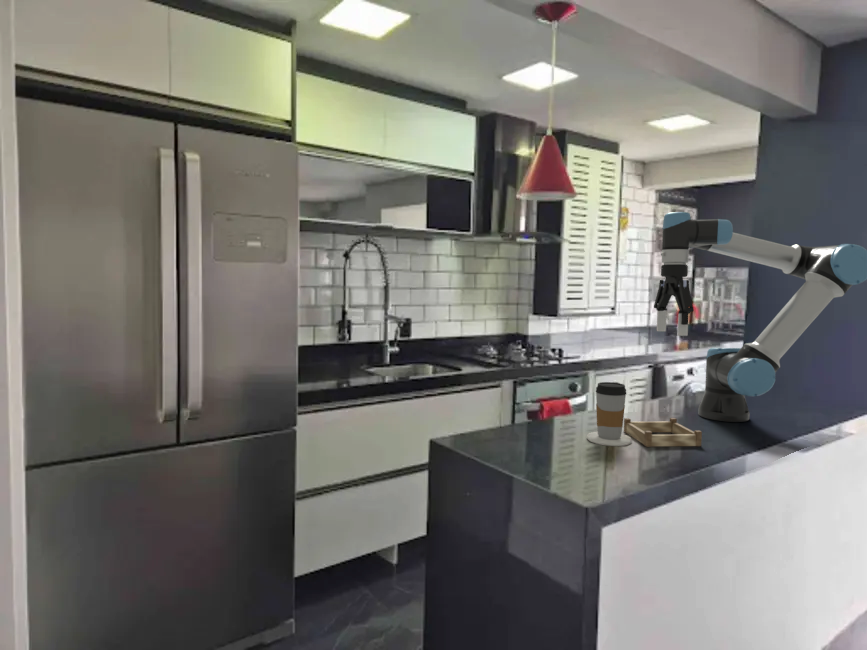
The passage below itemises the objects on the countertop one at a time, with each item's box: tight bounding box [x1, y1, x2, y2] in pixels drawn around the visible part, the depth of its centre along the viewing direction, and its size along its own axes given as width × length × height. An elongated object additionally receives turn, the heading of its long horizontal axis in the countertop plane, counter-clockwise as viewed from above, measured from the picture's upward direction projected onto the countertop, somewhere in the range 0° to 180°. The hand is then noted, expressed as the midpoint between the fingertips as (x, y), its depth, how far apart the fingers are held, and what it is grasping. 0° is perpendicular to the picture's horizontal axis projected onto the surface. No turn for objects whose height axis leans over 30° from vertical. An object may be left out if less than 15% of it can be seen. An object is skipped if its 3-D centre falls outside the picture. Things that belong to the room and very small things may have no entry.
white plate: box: [586, 431, 633, 447], centre depth 160 cm, size 12×12×1 cm
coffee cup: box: [595, 381, 627, 440], centre depth 159 cm, size 8×8×15 cm
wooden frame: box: [623, 417, 703, 448], centre depth 162 cm, size 15×15×4 cm
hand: (671, 333), depth 175 cm, fingers open, 13 cm apart
